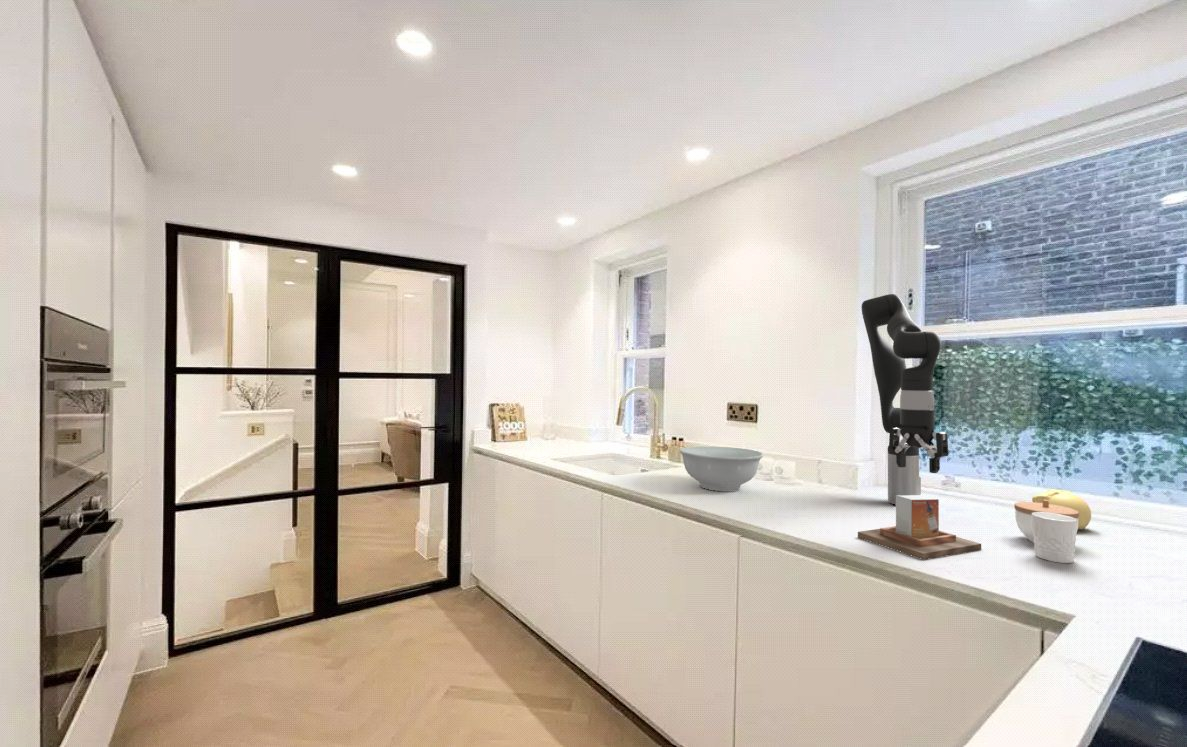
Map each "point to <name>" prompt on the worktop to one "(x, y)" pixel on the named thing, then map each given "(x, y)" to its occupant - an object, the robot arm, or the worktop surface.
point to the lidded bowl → (1027, 508)
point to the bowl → (721, 466)
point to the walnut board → (920, 543)
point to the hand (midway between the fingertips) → (917, 469)
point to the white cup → (1054, 536)
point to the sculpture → (1067, 504)
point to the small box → (917, 516)
